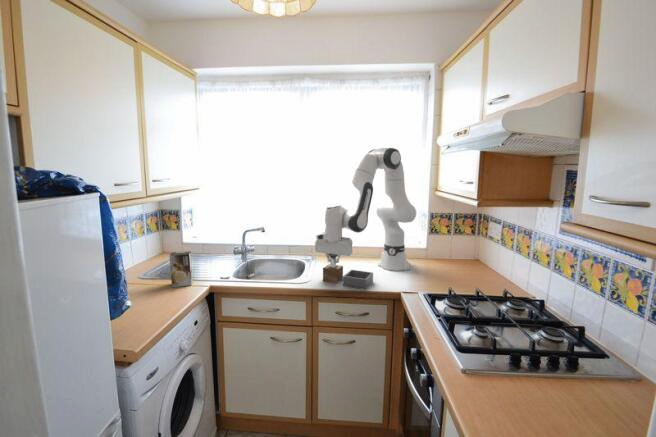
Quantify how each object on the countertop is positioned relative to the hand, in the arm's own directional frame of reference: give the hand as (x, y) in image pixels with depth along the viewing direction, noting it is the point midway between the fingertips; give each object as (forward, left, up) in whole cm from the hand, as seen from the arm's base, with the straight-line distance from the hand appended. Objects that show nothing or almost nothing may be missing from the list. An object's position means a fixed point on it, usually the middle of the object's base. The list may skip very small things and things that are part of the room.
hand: (333, 262), depth 164 cm
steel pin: (0, 0, -10) cm, 10 cm away
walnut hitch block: (0, 0, -10) cm, 10 cm away
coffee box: (+39, -65, -10) cm, 76 cm away
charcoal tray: (0, +14, -10) cm, 17 cm away
